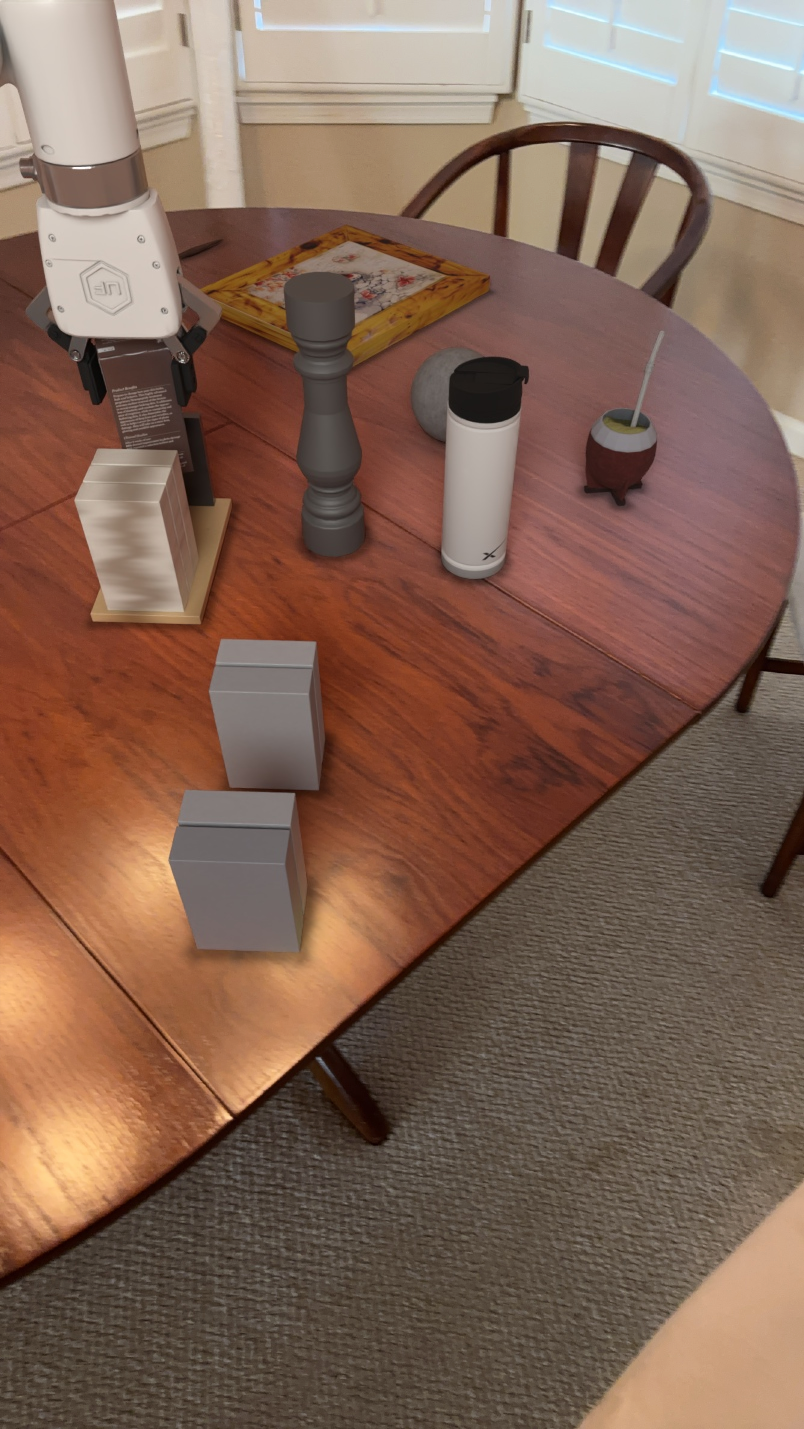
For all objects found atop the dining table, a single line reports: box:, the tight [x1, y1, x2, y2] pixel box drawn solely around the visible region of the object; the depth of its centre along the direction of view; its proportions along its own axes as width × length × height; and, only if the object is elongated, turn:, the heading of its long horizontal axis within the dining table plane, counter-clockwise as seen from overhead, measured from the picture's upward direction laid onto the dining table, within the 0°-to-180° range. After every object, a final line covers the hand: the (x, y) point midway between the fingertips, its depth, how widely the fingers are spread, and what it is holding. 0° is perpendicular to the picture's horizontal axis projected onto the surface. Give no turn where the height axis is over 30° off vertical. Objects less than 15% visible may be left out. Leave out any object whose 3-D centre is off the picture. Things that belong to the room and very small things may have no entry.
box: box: [93, 338, 194, 473], centre depth 83 cm, size 6×4×12 cm
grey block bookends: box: [167, 638, 326, 954], centre depth 66 cm, size 7×19×11 cm, turn 178°
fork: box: [178, 238, 224, 259], centre depth 138 cm, size 3×16×2 cm, turn 136°
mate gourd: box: [583, 330, 666, 507], centre depth 95 cm, size 8×8×15 cm
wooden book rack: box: [73, 411, 233, 625], centre depth 87 cm, size 10×18×13 cm, turn 178°
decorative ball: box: [409, 346, 485, 443], centre depth 103 cm, size 10×10×10 cm
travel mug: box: [440, 355, 530, 580], centre depth 85 cm, size 6×7×20 cm
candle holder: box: [284, 272, 366, 558], centre depth 85 cm, size 6×6×25 cm
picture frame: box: [198, 224, 491, 367], centre depth 129 cm, size 27×2×30 cm
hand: (143, 396), depth 83 cm, fingers closed on box, 6 cm apart
